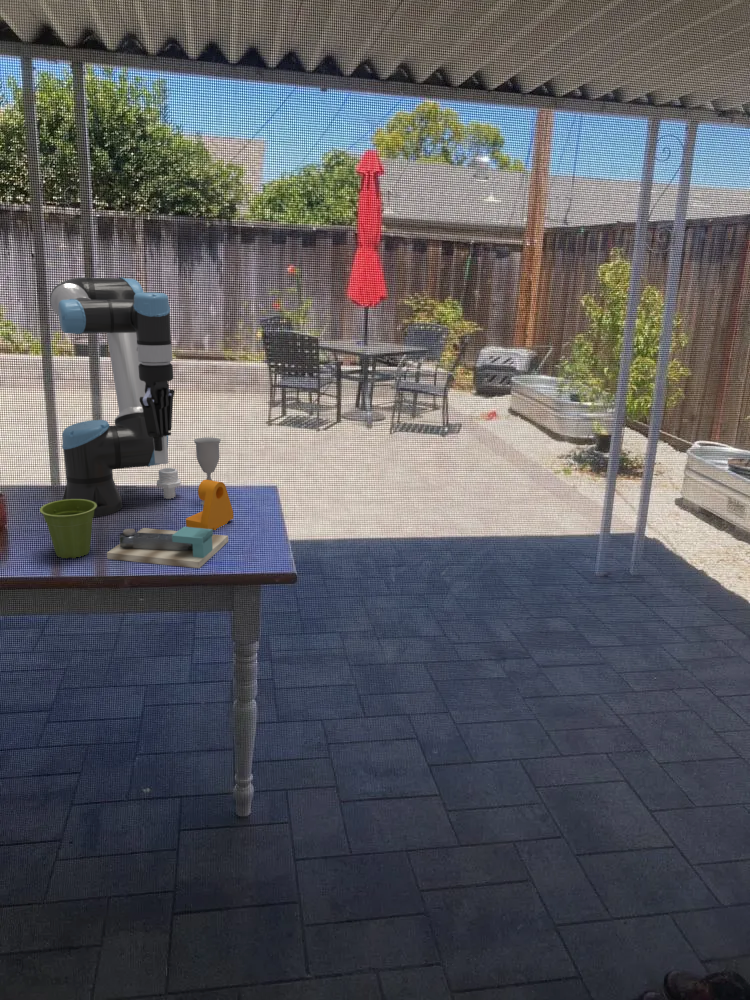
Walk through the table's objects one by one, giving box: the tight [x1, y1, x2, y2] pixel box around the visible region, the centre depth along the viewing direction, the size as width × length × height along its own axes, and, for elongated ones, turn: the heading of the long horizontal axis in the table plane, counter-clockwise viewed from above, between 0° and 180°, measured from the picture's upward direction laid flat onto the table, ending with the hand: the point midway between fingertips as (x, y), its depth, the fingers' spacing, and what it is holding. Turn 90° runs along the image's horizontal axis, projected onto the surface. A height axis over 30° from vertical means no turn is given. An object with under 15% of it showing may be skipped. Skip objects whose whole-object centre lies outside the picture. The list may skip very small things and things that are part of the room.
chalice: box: [193, 436, 222, 506], centre depth 204 cm, size 7×7×18 cm
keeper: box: [172, 526, 214, 558], centre depth 167 cm, size 7×6×5 cm
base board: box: [106, 527, 229, 569], centre depth 172 cm, size 22×17×5 cm
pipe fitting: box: [156, 467, 182, 500], centre depth 210 cm, size 6×7×8 cm
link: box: [118, 531, 193, 551], centre depth 170 cm, size 18×4×2 cm, turn 87°
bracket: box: [185, 479, 235, 531], centre depth 188 cm, size 11×7×12 cm, turn 155°
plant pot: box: [39, 499, 97, 559], centre depth 167 cm, size 12×12×11 cm
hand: (161, 463), depth 176 cm, fingers closed
